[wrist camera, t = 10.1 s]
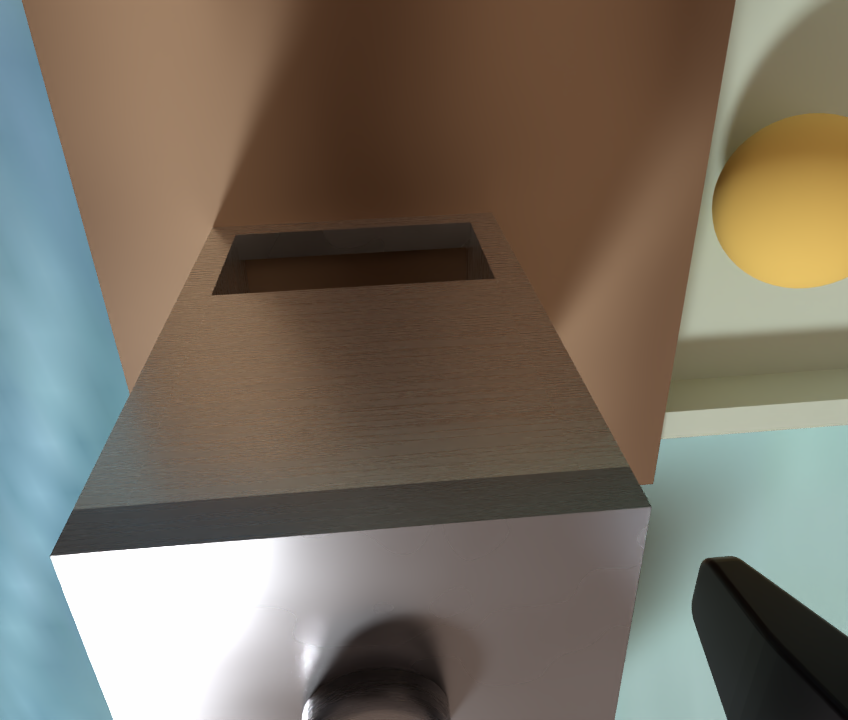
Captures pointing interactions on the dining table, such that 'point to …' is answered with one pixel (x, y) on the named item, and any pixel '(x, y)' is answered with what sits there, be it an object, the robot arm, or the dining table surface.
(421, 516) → the gray slotted box
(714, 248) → the tray
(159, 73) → the brown flat board
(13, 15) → the dining table surface
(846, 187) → the ball
